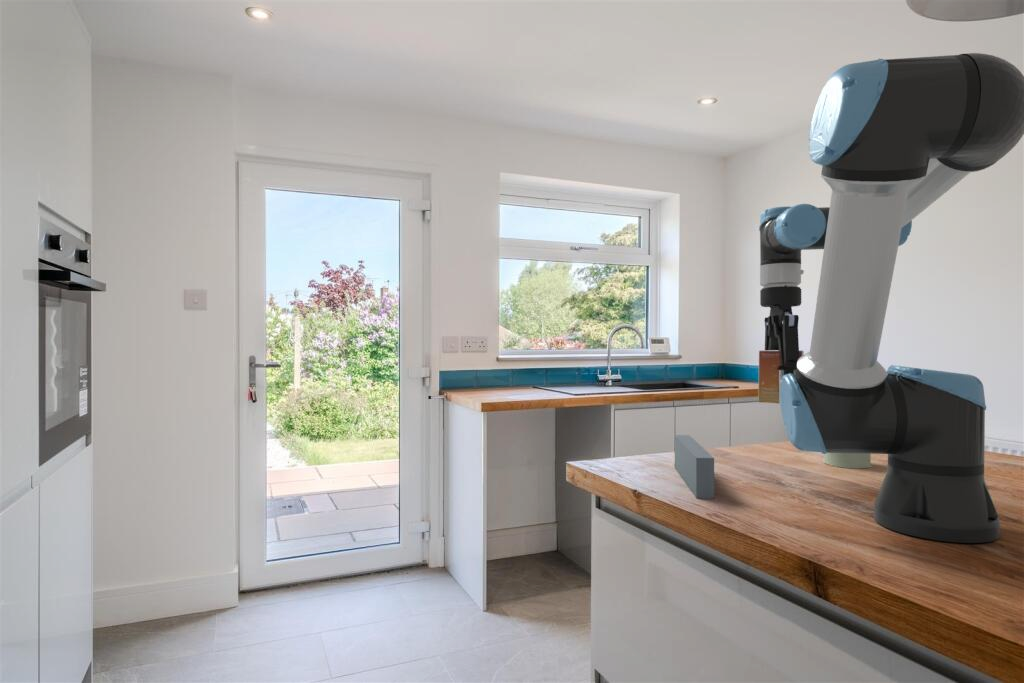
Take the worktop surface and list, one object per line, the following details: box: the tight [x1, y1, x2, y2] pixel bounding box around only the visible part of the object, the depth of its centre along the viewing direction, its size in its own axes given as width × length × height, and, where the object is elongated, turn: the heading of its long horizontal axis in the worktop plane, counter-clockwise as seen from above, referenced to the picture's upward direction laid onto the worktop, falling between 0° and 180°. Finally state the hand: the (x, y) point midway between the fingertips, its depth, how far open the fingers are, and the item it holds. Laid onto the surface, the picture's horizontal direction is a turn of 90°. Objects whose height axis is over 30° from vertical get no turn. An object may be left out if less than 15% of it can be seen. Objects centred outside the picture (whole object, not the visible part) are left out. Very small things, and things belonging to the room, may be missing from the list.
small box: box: [757, 349, 805, 404], centre depth 123 cm, size 8×6×10 cm
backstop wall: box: [674, 434, 715, 499], centre depth 118 cm, size 24×3×7 cm, turn 174°
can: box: [822, 453, 872, 470], centre depth 133 cm, size 9×9×12 cm
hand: (780, 401), depth 123 cm, fingers closed on small box, 7 cm apart
